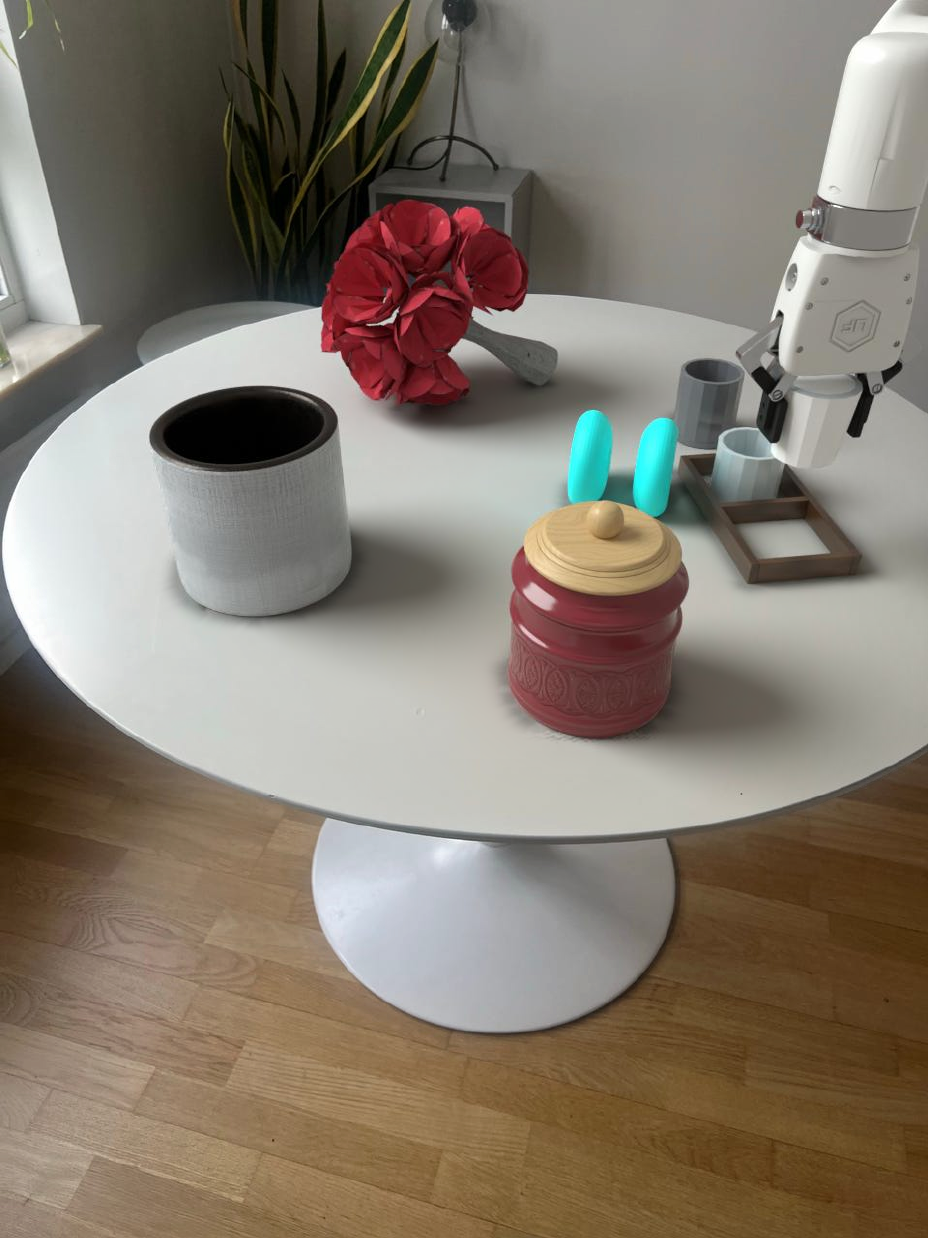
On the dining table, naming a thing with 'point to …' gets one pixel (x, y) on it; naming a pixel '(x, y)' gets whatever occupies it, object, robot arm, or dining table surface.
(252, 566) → the planter
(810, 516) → the glass rack
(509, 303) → the bouquet
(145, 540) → the dining table surface
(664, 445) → the cyan rounded forked piece
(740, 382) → the grey cup
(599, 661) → the kitchen canister
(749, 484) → the glass
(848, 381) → the white cup
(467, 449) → the dining table surface
